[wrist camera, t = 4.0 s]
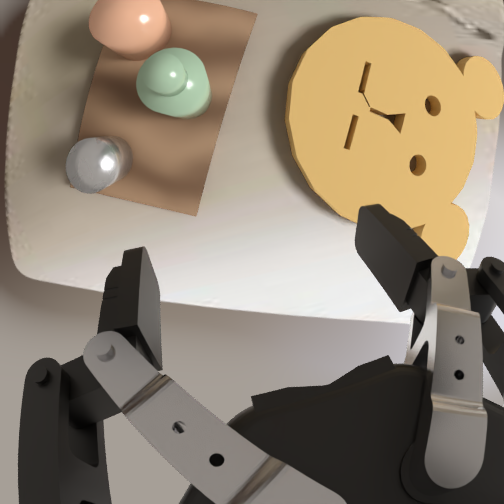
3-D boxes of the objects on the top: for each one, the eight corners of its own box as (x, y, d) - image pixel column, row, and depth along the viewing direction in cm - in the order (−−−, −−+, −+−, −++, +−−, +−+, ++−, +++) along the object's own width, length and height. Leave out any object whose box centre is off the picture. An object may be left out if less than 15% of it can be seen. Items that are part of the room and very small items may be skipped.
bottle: (172, 70, 27) (137, 30, 14) (218, 80, 28) (214, 43, 15) (159, 114, 29) (113, 103, 16) (204, 124, 30) (189, 118, 17)
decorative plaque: (251, 218, 36) (444, 265, 41) (253, 224, 33) (454, 273, 39) (317, -24, 25) (495, 77, 30) (324, -33, 23) (506, 76, 28)
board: (127, -3, 24) (124, -8, 23) (256, 18, 27) (257, 13, 25) (75, 184, 32) (70, 187, 30) (197, 212, 34) (196, 216, 33)
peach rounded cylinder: (124, 6, 23) (104, -18, 17) (180, 12, 25) (170, -15, 18) (105, 57, 25) (79, 43, 19) (160, 64, 27) (145, 48, 20)
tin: (95, 132, 28) (70, 134, 23) (137, 140, 29) (119, 142, 24) (86, 177, 30) (62, 188, 25) (127, 186, 31) (109, 198, 26)
